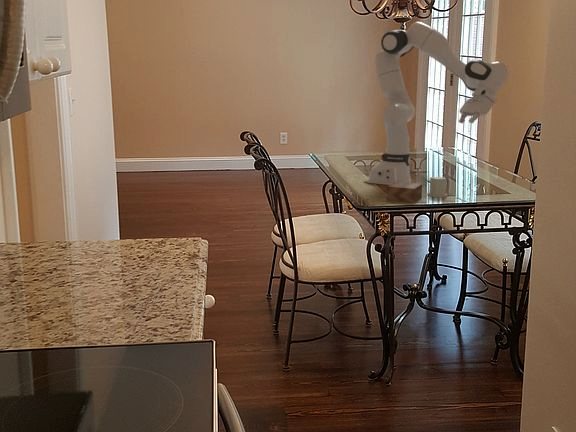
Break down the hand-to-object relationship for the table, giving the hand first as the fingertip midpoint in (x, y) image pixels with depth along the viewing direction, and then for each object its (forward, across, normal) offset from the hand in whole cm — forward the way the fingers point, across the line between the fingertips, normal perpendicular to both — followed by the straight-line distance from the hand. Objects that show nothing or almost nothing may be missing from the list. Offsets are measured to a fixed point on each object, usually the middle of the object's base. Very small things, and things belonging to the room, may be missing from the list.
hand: (465, 122), depth 309 cm
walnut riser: (+43, +2, -5) cm, 44 cm away
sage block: (+33, +1, +8) cm, 34 cm away
